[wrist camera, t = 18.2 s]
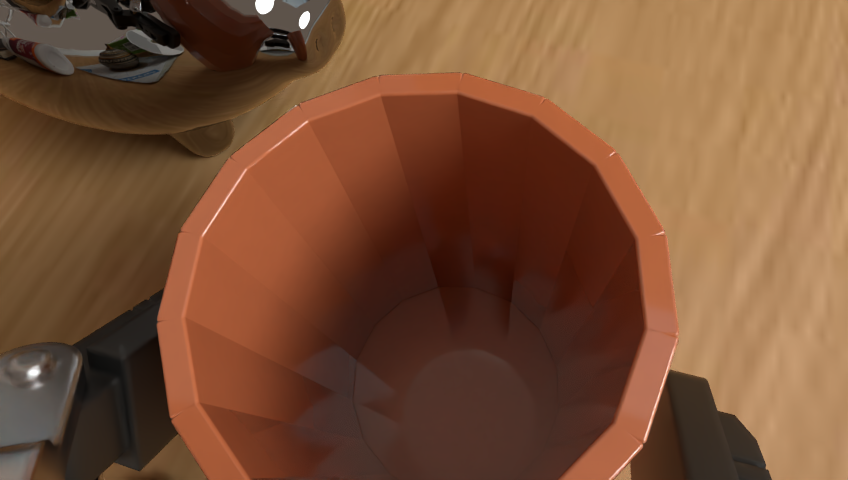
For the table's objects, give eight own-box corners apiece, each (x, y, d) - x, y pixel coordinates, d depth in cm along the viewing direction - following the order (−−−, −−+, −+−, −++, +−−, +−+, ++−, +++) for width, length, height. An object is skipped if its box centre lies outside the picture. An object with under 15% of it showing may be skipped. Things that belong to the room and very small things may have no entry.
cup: (306, 443, 16) (57, 407, 7) (405, 251, 18) (315, 25, 9) (517, 558, 14) (560, 716, 5) (601, 331, 16) (738, 154, 7)
